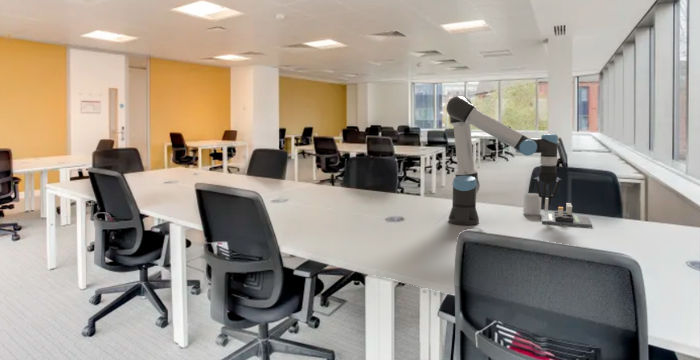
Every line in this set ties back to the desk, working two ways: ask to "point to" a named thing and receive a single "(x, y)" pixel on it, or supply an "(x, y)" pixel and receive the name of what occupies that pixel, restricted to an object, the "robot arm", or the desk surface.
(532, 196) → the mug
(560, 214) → the block
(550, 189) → the robot arm
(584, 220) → the panel
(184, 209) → the desk surface
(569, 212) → the block
